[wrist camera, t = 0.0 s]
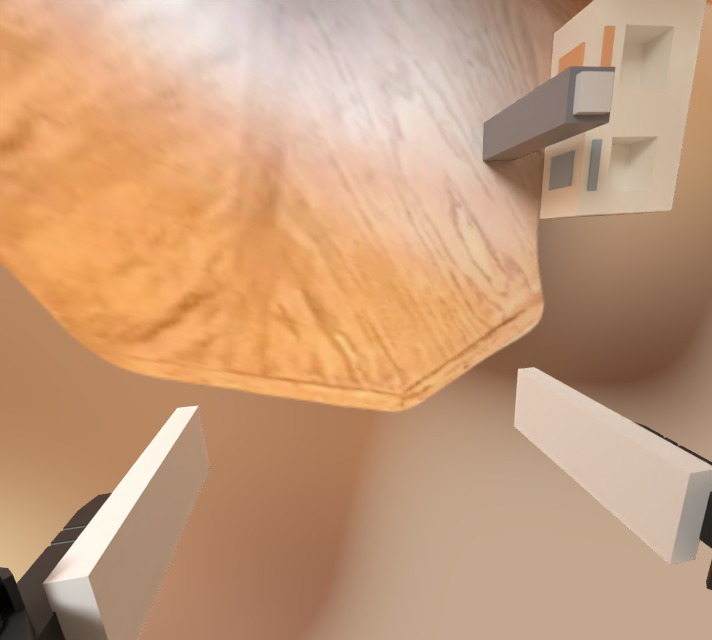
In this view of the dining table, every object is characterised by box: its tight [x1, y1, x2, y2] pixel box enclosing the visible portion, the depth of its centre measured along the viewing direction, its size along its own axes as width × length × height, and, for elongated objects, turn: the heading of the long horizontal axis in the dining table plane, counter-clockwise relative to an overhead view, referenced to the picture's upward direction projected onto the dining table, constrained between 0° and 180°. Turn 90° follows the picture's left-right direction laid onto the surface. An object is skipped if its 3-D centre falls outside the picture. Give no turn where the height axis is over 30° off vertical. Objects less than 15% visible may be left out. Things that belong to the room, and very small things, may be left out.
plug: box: [483, 66, 615, 161], centre depth 33 cm, size 4×4×14 cm
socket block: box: [540, 0, 707, 219], centre depth 37 cm, size 20×12×6 cm, turn 3°
